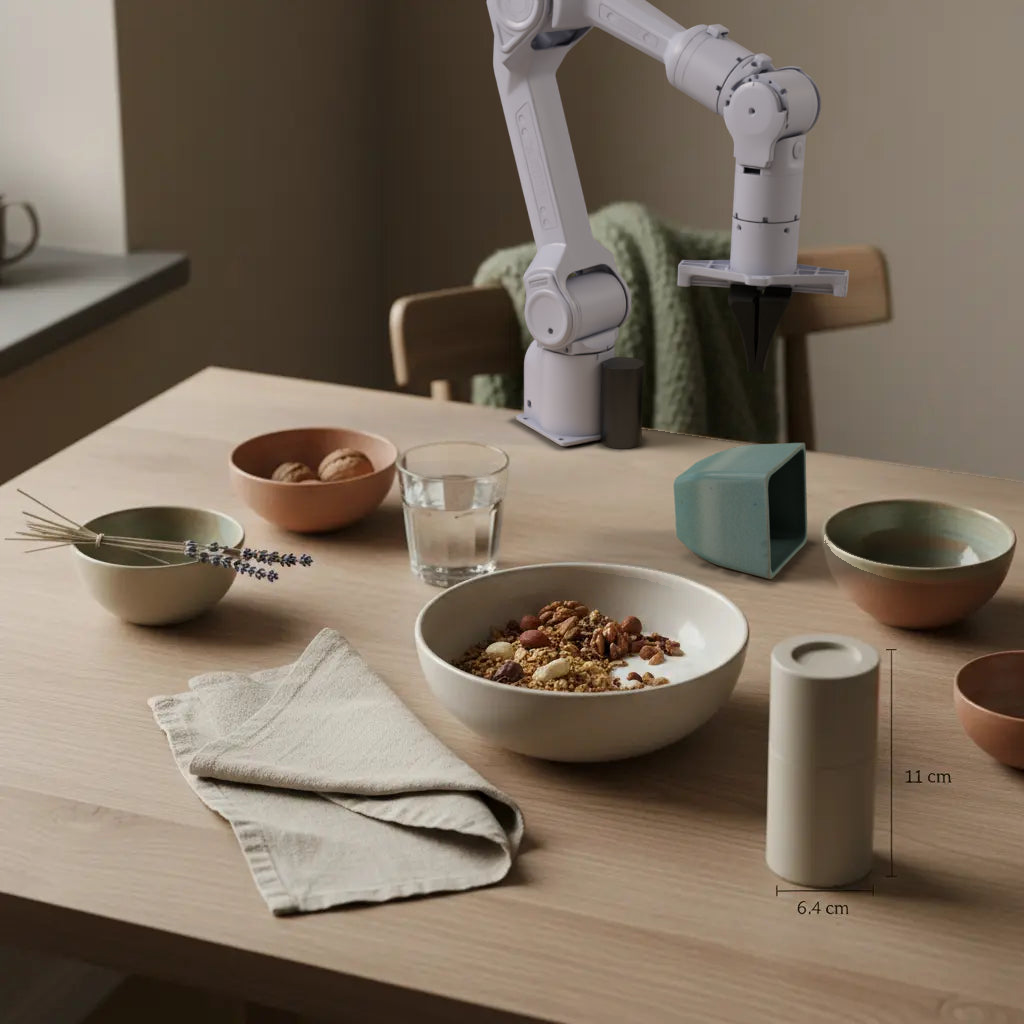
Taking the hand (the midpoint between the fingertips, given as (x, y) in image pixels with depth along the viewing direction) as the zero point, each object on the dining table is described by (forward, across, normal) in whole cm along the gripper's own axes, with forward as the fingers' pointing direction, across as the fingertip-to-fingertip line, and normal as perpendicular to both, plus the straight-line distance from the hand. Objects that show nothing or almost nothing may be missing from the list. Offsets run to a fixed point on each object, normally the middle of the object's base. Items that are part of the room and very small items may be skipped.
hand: (756, 369), depth 134 cm
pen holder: (+10, -13, +6) cm, 18 cm away
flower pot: (+7, -4, -15) cm, 17 cm away
